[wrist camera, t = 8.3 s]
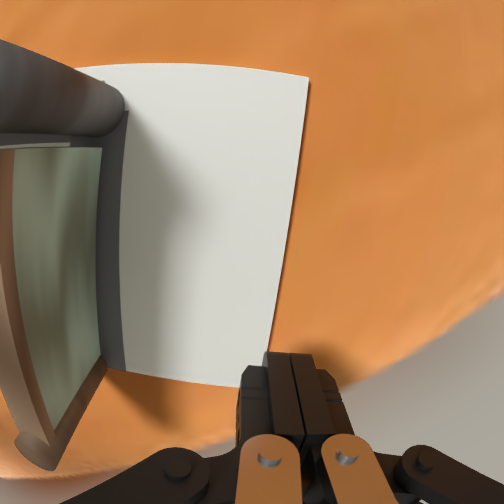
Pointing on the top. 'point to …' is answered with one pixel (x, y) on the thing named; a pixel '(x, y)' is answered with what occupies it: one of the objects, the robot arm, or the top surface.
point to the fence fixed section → (53, 97)
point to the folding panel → (48, 294)
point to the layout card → (191, 215)
